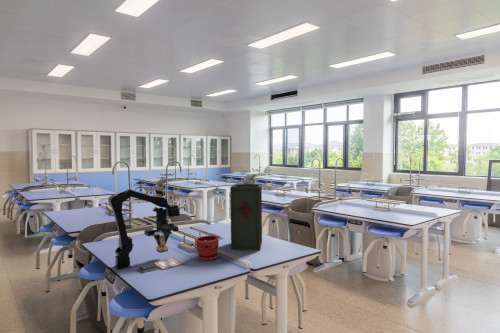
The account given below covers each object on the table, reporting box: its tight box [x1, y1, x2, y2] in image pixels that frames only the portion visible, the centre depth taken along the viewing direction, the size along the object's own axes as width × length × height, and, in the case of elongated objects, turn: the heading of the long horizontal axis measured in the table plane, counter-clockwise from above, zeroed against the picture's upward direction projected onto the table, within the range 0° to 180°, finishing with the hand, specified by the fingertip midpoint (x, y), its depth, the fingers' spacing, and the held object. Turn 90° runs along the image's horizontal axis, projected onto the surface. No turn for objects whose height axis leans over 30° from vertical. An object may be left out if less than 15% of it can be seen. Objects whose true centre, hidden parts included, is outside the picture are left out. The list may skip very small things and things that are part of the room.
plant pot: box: [195, 235, 220, 261], centre depth 192 cm, size 13×13×12 cm
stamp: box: [155, 234, 169, 254], centre depth 191 cm, size 5×5×9 cm
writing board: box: [152, 257, 185, 271], centre depth 182 cm, size 13×13×1 cm
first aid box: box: [229, 183, 263, 251], centre depth 215 cm, size 18×18×40 cm
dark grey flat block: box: [137, 262, 159, 274], centre depth 174 cm, size 8×7×2 cm
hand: (162, 245), depth 191 cm, fingers closed on stamp, 4 cm apart
